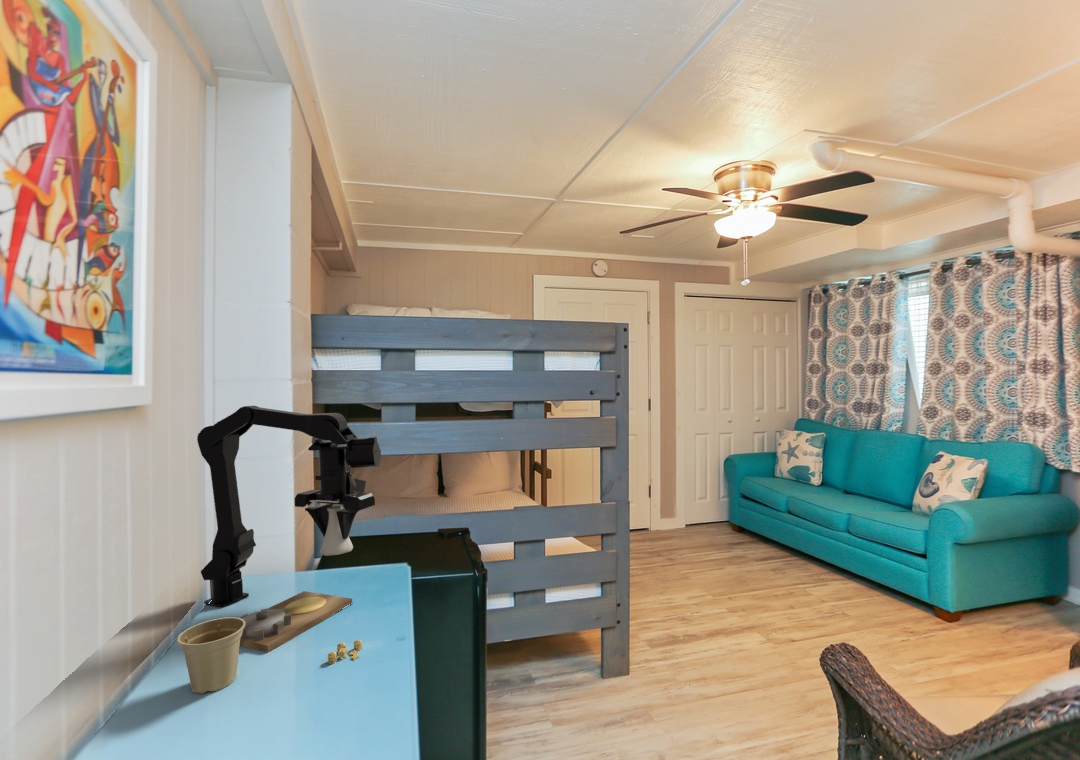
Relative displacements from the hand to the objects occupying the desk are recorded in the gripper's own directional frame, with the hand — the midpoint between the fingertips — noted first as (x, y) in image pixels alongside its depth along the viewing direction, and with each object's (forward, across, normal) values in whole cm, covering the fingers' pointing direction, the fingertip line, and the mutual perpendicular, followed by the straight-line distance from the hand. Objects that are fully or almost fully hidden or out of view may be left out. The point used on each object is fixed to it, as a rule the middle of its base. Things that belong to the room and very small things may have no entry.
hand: (336, 537), depth 120 cm
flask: (+3, 0, 0) cm, 3 cm away
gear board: (+13, 0, +14) cm, 19 cm away
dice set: (+14, -21, +20) cm, 33 cm away
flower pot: (+13, -7, +34) cm, 37 cm away
